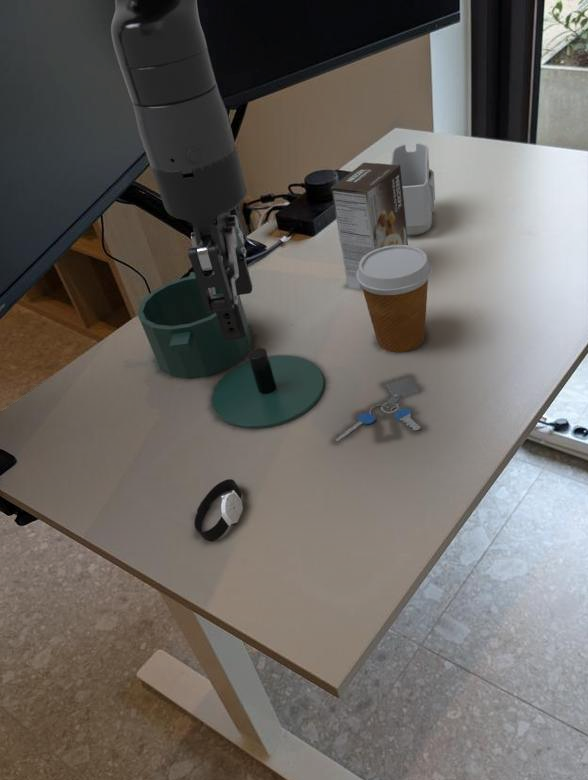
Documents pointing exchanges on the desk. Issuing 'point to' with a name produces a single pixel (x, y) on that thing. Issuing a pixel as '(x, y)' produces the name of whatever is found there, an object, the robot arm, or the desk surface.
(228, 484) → the watch
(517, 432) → the desk surface
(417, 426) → the key chain
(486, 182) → the desk surface
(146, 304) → the pot
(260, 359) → the lid
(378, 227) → the coffee box
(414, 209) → the cable organizer
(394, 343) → the disposable coffee cup
